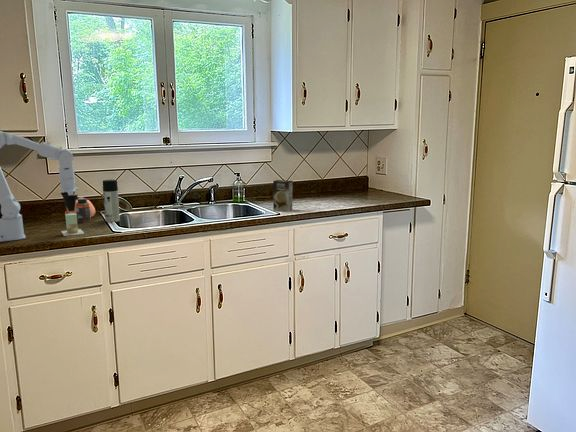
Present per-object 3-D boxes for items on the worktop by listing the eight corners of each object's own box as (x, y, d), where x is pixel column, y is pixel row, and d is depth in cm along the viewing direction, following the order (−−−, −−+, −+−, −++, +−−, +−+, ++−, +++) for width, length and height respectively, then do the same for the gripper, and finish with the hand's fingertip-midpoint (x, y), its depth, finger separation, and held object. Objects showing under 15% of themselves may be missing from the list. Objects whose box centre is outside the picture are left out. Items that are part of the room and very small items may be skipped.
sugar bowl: (96, 219, 237) (94, 198, 235) (65, 221, 232) (63, 200, 230) (95, 214, 248) (93, 195, 246) (66, 216, 243) (64, 196, 241)
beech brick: (68, 233, 205) (67, 224, 204) (67, 231, 208) (66, 222, 207) (78, 232, 207) (77, 223, 206) (77, 230, 210) (76, 221, 209)
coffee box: (272, 210, 258) (272, 180, 255) (277, 208, 264) (277, 179, 261) (288, 211, 255) (288, 181, 252) (292, 209, 261) (292, 180, 258)
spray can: (105, 220, 234) (101, 179, 230) (119, 219, 236) (116, 179, 232) (105, 223, 228) (102, 181, 224) (120, 222, 230) (117, 180, 226)
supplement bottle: (92, 220, 234) (90, 197, 232) (88, 223, 228) (86, 199, 226) (80, 220, 234) (78, 197, 232) (75, 223, 228) (73, 199, 226)
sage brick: (67, 224, 204) (66, 215, 203) (66, 222, 207) (65, 213, 207) (77, 223, 206) (76, 214, 205) (76, 221, 209) (75, 212, 209)
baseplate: (64, 236, 201) (63, 235, 201) (61, 232, 210) (61, 230, 210) (84, 234, 205) (84, 233, 205) (81, 230, 214) (80, 228, 214)
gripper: (80, 179, 199) (82, 211, 202) (75, 175, 211) (78, 206, 214) (61, 180, 196) (64, 213, 198) (57, 176, 208) (60, 207, 211)
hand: (70, 209), depth 206 cm, fingers open, 7 cm apart
